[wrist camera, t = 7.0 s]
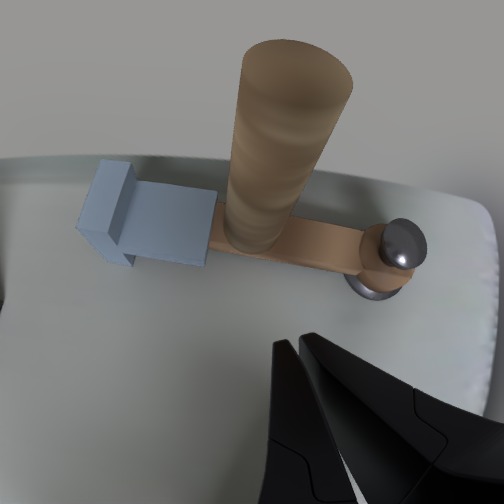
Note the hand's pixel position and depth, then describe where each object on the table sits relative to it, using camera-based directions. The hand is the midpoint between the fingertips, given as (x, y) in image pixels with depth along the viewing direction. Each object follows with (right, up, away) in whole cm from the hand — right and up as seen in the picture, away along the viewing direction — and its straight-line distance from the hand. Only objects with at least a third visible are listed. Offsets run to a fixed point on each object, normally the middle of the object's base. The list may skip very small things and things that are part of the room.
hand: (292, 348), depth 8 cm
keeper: (-7, +4, +14) cm, 16 cm away
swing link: (+2, +3, +14) cm, 14 cm away
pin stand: (+8, +2, +15) cm, 17 cm away
